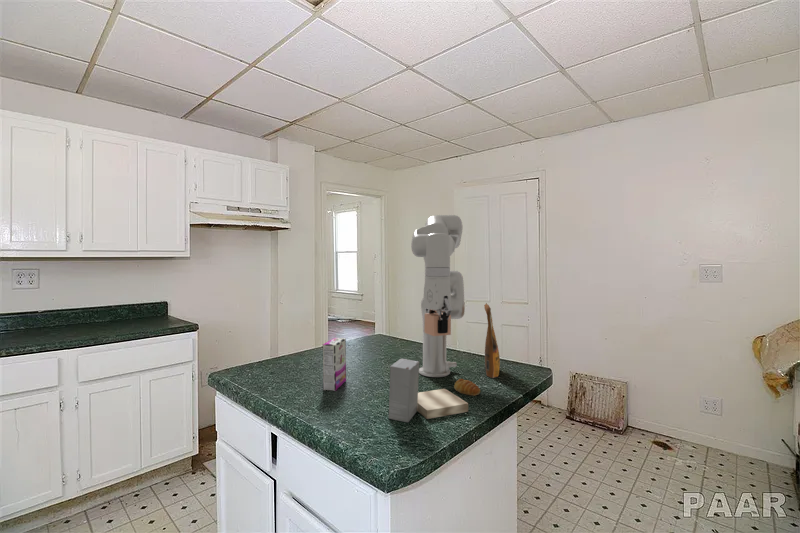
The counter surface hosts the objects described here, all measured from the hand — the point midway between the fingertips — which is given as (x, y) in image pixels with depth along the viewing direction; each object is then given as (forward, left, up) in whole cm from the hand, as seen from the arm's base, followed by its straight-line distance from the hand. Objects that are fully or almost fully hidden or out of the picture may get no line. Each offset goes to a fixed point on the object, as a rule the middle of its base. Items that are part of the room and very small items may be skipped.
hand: (437, 330), depth 116 cm
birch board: (0, 0, -24) cm, 24 cm away
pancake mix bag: (-38, -23, -24) cm, 51 cm away
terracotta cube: (0, 0, -1) cm, 1 cm away
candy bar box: (+25, -31, -24) cm, 47 cm away
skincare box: (+12, +2, -24) cm, 27 cm away
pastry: (-17, -8, -24) cm, 31 cm away
